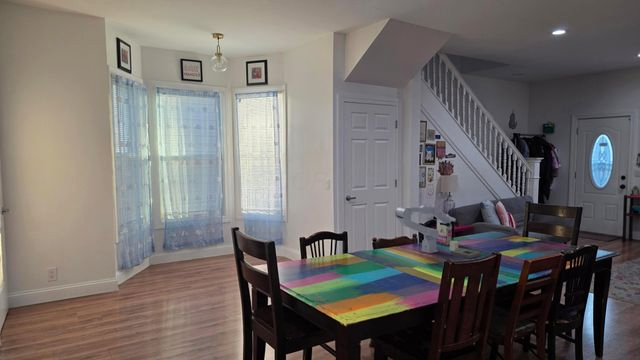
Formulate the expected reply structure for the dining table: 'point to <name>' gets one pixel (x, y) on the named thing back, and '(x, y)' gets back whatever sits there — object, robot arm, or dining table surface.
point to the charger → (453, 245)
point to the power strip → (465, 253)
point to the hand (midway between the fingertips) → (453, 225)
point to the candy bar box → (444, 234)
